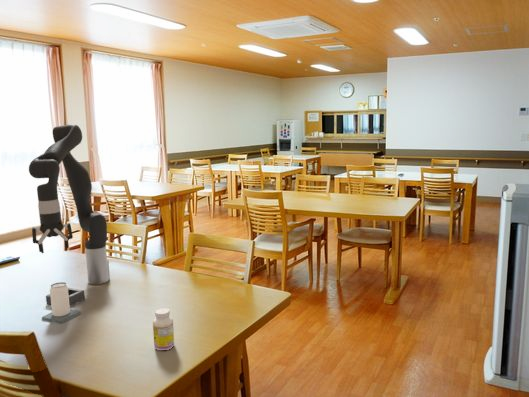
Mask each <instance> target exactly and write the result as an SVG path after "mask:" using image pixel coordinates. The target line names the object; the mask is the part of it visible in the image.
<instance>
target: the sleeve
mask: <svg viewBox="0 0 529 397" xmlns="http://www.w3.org/2000/svg"><path fill="white" fill-rule="evenodd" d="M68 294H69V304H70V307H72V306H73V305H76V304H77V303H79V302H81V301H83V300H86V296H85V289H78V288H71V287H68ZM45 301H46V305H47V306H51V296H50V293H49V294H47V295H45Z"/></svg>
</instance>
